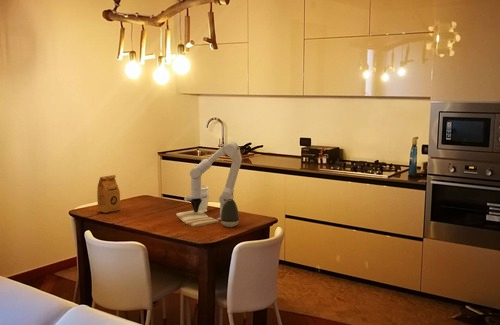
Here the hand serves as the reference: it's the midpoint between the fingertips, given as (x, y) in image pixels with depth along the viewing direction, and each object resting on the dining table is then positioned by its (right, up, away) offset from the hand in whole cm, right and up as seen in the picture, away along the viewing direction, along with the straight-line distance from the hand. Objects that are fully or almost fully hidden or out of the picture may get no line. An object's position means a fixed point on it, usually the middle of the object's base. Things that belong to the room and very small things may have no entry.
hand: (195, 211), depth 301 cm
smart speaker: (+20, -6, -17) cm, 27 cm away
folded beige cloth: (+5, -5, -11) cm, 13 cm away
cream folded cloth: (-2, -3, -4) cm, 5 cm away
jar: (+1, -2, +16) cm, 17 cm away
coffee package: (-54, -2, +15) cm, 56 cm away
